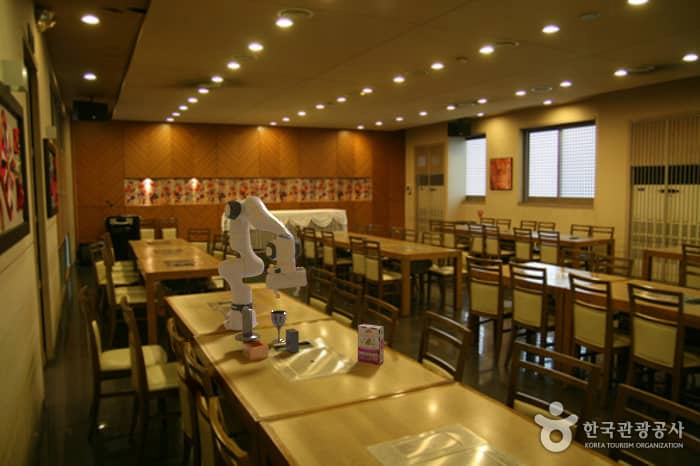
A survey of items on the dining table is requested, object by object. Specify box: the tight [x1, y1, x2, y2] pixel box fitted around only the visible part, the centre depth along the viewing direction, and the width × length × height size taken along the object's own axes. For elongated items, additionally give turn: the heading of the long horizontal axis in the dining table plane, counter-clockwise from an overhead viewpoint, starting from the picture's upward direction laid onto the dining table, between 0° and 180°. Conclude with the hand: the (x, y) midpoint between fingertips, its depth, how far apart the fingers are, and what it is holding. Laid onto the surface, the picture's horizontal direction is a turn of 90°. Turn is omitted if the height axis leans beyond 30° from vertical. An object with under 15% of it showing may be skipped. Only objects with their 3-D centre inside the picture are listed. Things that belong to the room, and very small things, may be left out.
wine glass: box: [270, 309, 288, 344], centre depth 272 cm, size 8×8×15 cm
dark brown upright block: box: [285, 328, 300, 354], centre depth 257 cm, size 6×4×10 cm, turn 31°
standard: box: [234, 308, 269, 361], centre depth 253 cm, size 21×12×20 cm, turn 31°
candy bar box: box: [357, 323, 385, 365], centre depth 242 cm, size 11×5×16 cm, turn 62°
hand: (287, 296), depth 257 cm, fingers open, 8 cm apart
